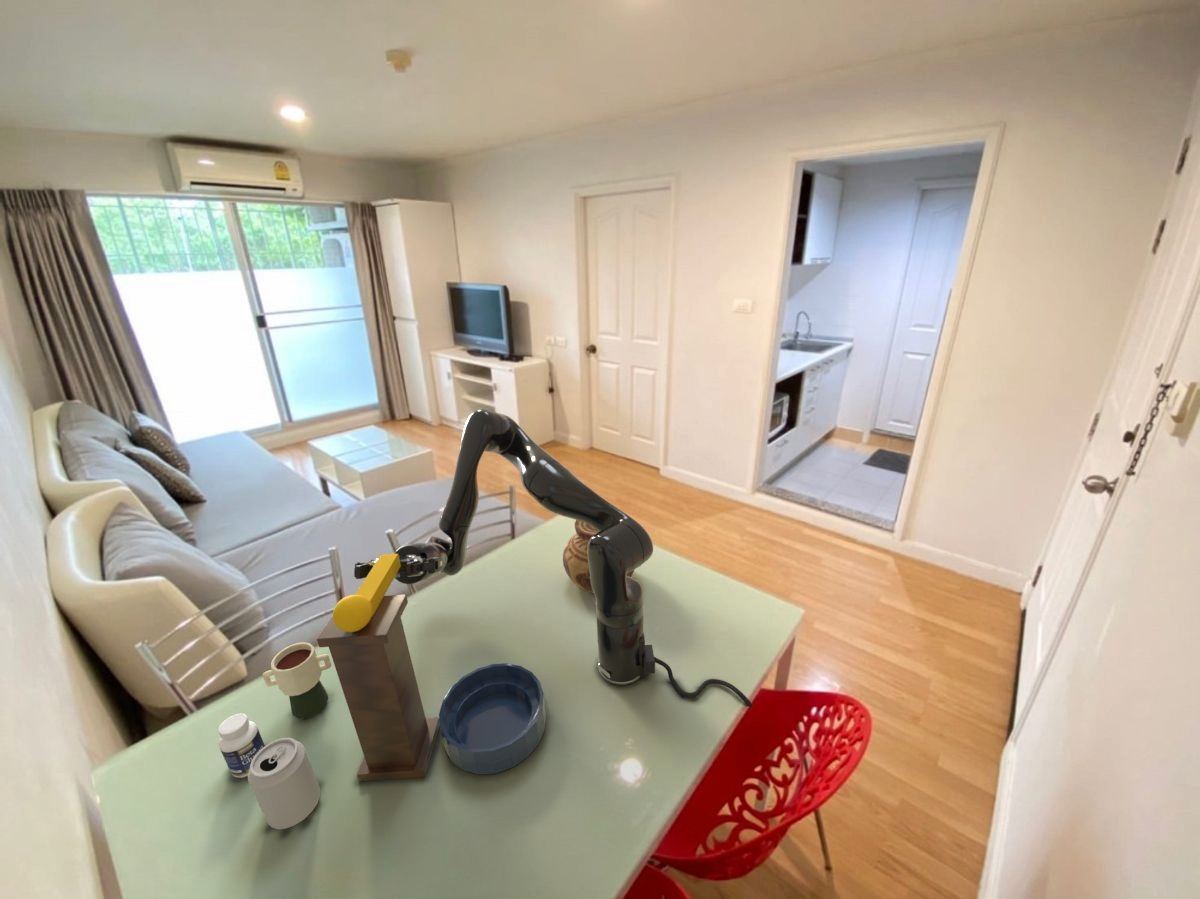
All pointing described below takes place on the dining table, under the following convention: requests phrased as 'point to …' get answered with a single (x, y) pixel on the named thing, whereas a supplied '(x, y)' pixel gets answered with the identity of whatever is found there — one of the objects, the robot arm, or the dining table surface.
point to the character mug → (300, 678)
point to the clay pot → (580, 556)
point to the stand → (383, 694)
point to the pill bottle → (239, 743)
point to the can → (284, 783)
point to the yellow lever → (366, 595)
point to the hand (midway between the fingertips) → (383, 571)
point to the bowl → (492, 718)
